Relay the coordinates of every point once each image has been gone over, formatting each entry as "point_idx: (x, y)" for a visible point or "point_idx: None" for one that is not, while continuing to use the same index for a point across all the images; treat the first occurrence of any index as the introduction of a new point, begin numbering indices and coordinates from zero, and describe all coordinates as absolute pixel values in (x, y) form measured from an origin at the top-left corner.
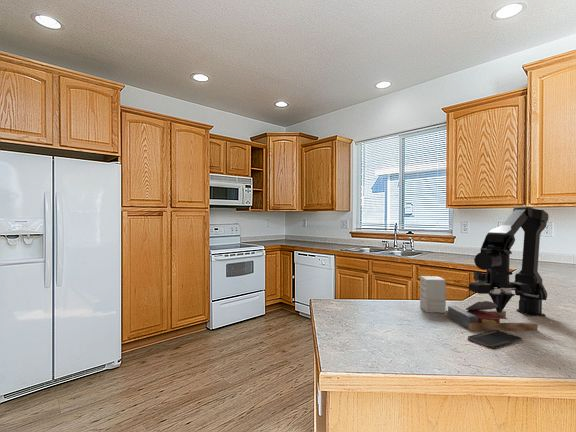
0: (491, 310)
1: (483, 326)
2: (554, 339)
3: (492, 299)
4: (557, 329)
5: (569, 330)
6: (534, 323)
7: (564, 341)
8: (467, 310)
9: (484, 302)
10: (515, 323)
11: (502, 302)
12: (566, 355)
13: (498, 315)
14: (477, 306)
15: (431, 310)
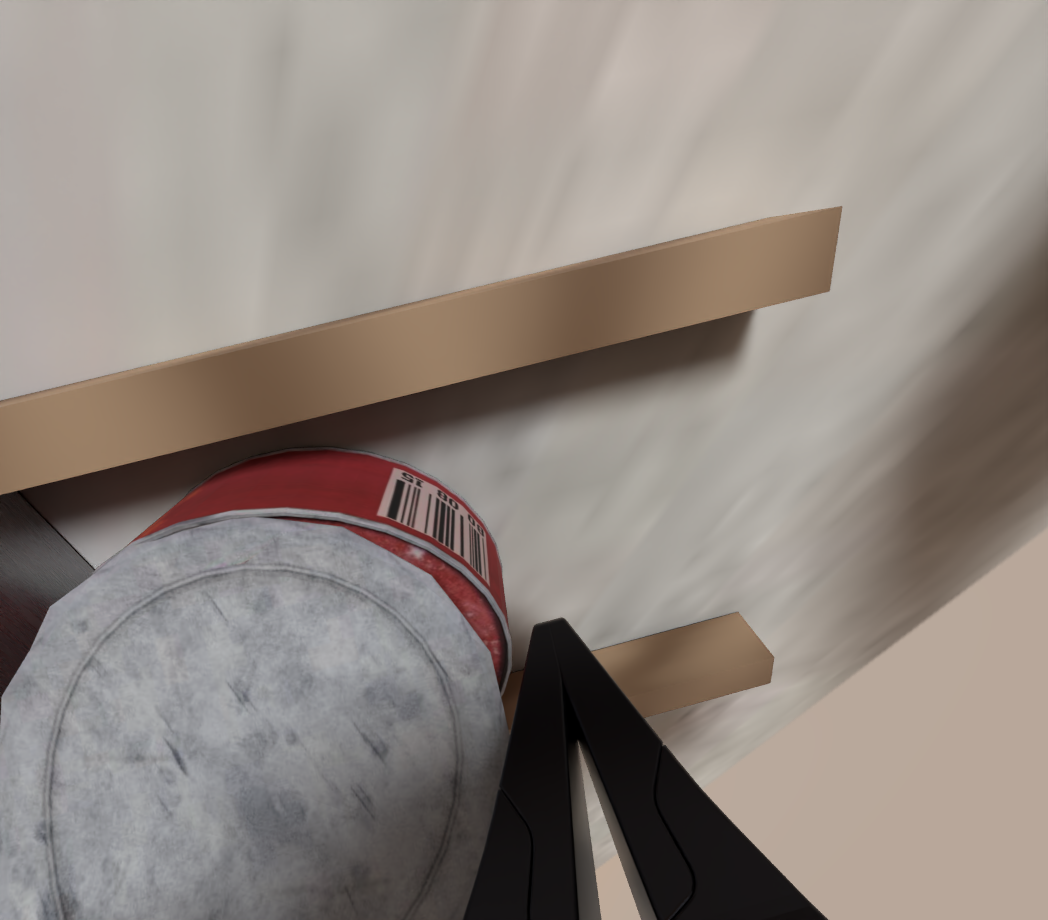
0: (607, 275)
1: None
2: (704, 738)
3: (478, 894)
4: (912, 576)
5: (977, 573)
6: (759, 676)
7: (734, 746)
8: (112, 389)
9: None
10: None
11: (625, 870)
12: (597, 858)
13: (506, 670)
14: (151, 885)
15: None
